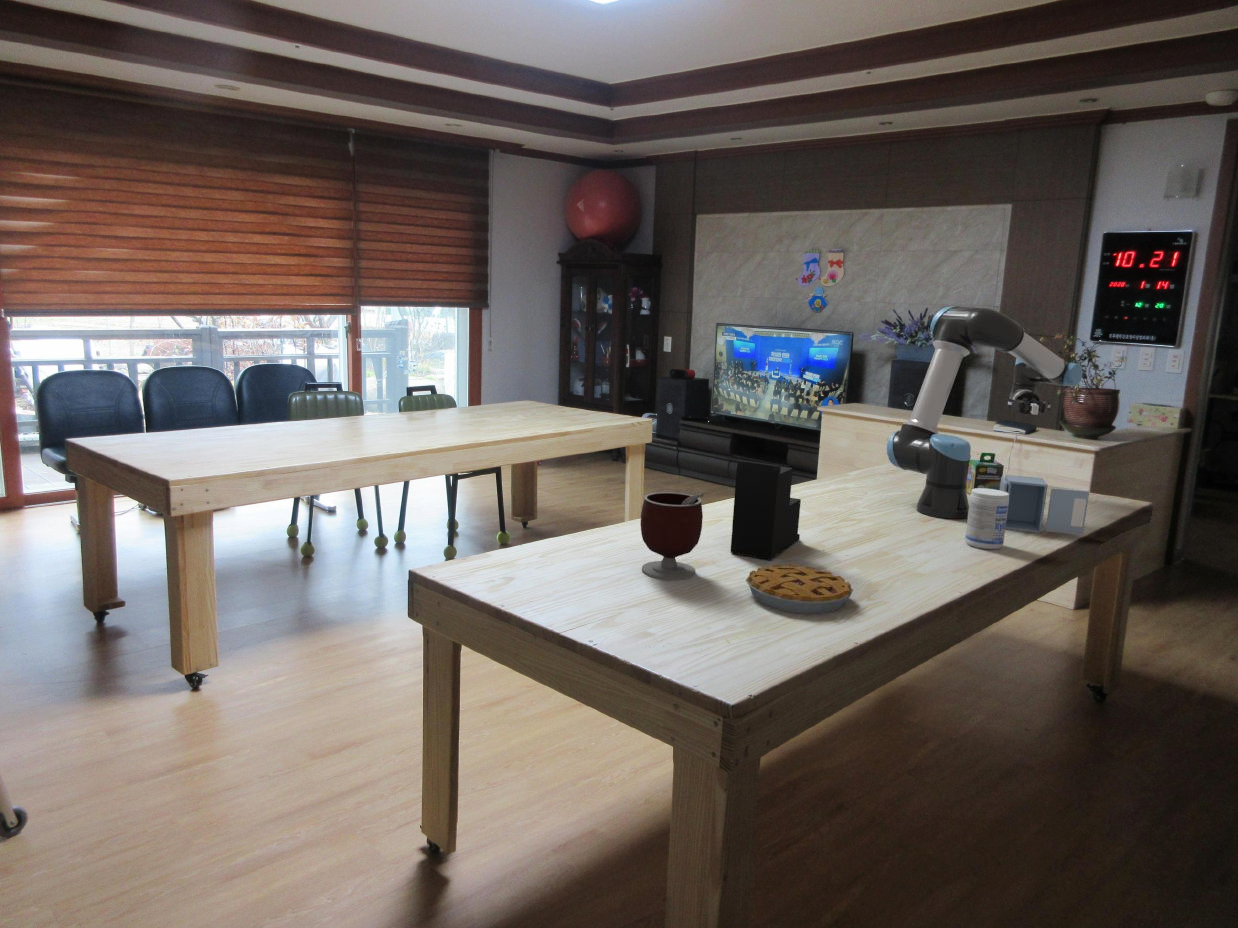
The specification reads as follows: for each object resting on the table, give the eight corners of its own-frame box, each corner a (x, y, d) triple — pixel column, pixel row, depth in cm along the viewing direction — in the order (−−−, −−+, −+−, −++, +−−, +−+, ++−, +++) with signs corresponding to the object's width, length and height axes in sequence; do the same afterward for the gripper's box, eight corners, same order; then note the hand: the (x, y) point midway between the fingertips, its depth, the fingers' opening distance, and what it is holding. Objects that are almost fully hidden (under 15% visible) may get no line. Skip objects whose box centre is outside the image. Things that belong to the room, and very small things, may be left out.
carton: (998, 528, 255) (1005, 480, 253) (995, 520, 265) (1001, 474, 262) (1040, 532, 252) (1047, 484, 250) (1035, 524, 262) (1042, 478, 259)
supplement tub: (1000, 552, 230) (1007, 497, 227) (961, 546, 235) (968, 492, 232) (1004, 544, 238) (1011, 491, 236) (967, 538, 243) (974, 485, 240)
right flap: (1046, 531, 251) (1052, 488, 249) (1045, 530, 252) (1051, 487, 250) (1082, 534, 249) (1089, 491, 247) (1082, 533, 250) (1088, 491, 248)
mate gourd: (625, 569, 202) (629, 484, 198) (666, 558, 212) (671, 476, 208) (676, 587, 191) (681, 497, 187) (717, 575, 201) (723, 489, 197)
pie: (800, 624, 174) (802, 600, 173) (724, 591, 191) (726, 569, 190) (872, 605, 186) (874, 583, 185) (795, 576, 204) (796, 555, 203)
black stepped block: (761, 533, 238) (768, 447, 234) (800, 540, 233) (808, 452, 229) (729, 554, 218) (735, 460, 214) (771, 562, 213) (779, 466, 209)
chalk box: (992, 493, 303) (997, 450, 300) (1000, 499, 294) (1006, 455, 291) (964, 491, 304) (969, 449, 301) (972, 497, 295) (977, 453, 292)
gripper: (1046, 415, 292) (1057, 424, 270) (1003, 411, 296) (1011, 420, 274) (1049, 392, 291) (1060, 399, 269) (1006, 389, 294) (1014, 396, 272)
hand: (1035, 410), depth 271 cm, fingers closed
